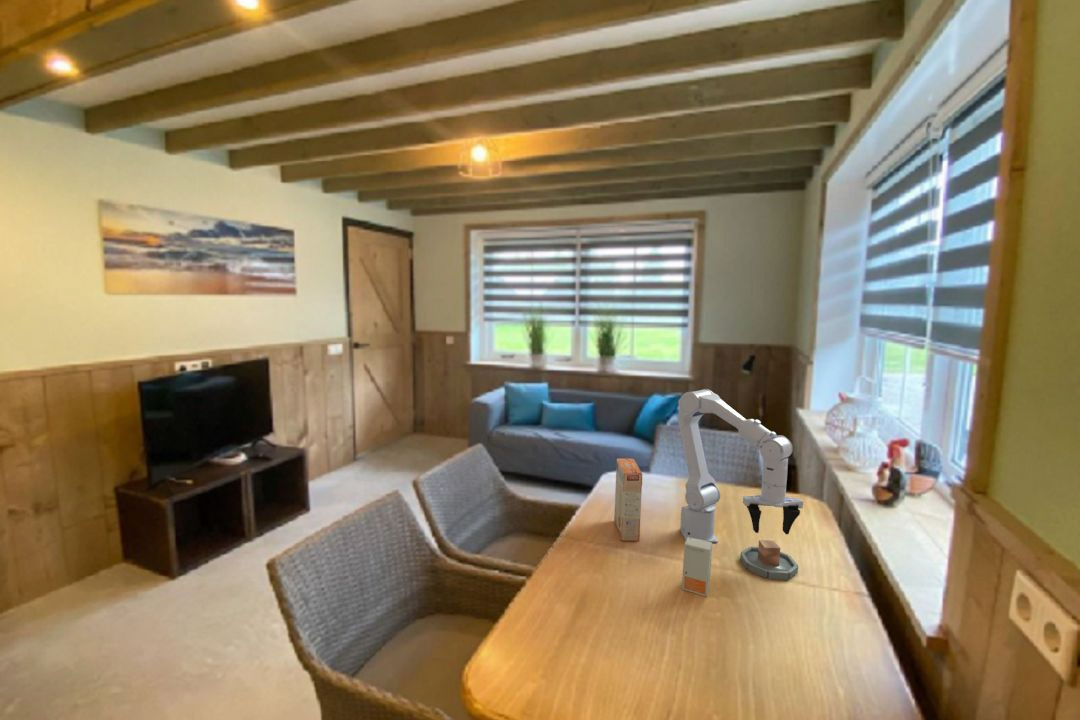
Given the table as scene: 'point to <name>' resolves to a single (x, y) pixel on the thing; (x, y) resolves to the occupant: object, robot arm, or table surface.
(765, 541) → the block
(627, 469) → the cracker box
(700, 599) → the table surface
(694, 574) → the skincare box
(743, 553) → the dish
